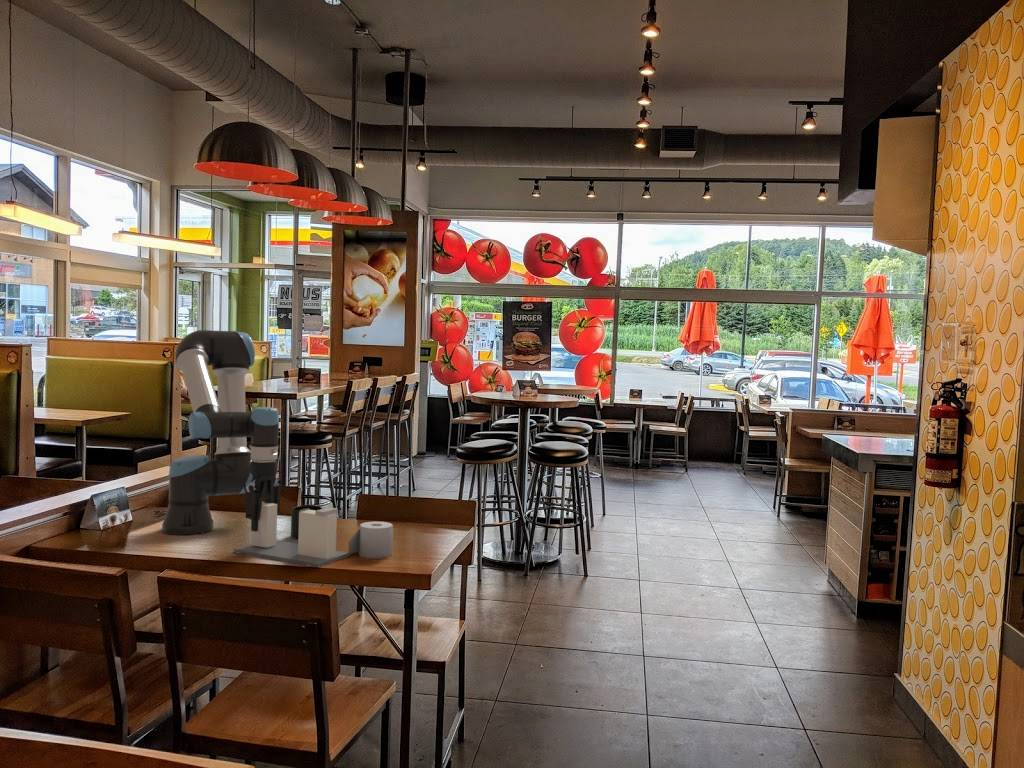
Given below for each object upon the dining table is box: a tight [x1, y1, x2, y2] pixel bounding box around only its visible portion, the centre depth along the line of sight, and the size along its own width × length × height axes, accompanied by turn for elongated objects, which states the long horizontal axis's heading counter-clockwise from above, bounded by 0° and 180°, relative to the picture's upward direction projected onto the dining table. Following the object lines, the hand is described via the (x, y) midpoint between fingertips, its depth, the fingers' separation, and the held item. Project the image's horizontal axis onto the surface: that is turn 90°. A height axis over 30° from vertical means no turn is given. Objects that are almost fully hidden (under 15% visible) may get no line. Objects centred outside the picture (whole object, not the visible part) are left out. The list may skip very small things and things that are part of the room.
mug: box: [290, 505, 324, 541], centre depth 241 cm, size 9×12×9 cm
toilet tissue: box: [347, 521, 394, 559], centre depth 222 cm, size 9×13×9 cm
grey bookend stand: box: [233, 507, 351, 568], centre depth 219 cm, size 30×14×14 cm, turn 65°
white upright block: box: [250, 501, 278, 548], centre depth 224 cm, size 6×4×12 cm
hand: (262, 540), depth 224 cm, fingers closed on white upright block, 4 cm apart
